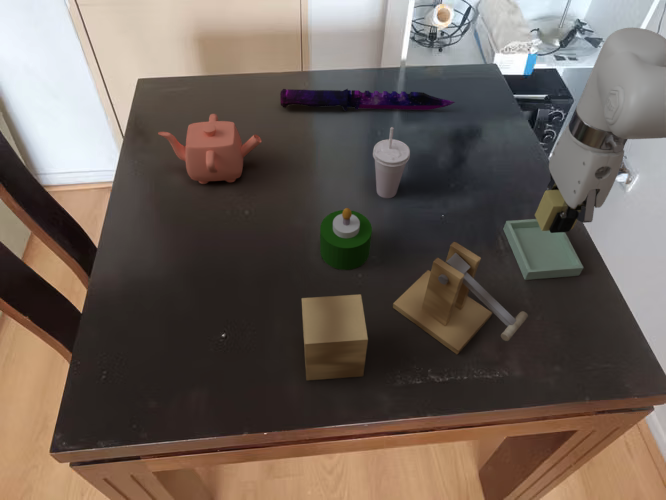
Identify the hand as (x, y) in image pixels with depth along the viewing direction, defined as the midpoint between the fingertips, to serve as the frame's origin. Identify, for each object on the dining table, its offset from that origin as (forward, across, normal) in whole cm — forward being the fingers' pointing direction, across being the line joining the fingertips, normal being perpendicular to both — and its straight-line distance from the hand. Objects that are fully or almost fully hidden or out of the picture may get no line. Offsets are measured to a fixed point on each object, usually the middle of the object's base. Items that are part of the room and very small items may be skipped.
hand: (554, 220), depth 85 cm
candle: (+8, +3, +33) cm, 34 cm away
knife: (+8, +42, +24) cm, 48 cm away
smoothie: (+8, +16, +24) cm, 30 cm away
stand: (+8, -17, +37) cm, 41 cm away
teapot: (+8, +24, +55) cm, 61 cm away
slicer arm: (-1, -14, +16) cm, 22 cm away
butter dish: (+8, 0, 0) cm, 8 cm away
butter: (0, 0, 0) cm, 0 cm away
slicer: (+8, -11, +19) cm, 23 cm away
